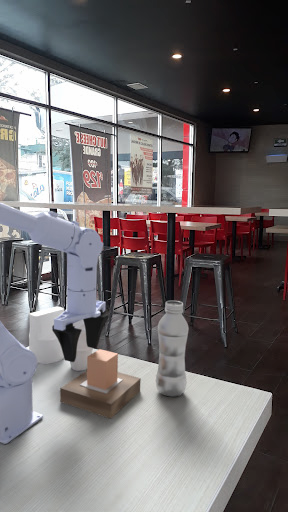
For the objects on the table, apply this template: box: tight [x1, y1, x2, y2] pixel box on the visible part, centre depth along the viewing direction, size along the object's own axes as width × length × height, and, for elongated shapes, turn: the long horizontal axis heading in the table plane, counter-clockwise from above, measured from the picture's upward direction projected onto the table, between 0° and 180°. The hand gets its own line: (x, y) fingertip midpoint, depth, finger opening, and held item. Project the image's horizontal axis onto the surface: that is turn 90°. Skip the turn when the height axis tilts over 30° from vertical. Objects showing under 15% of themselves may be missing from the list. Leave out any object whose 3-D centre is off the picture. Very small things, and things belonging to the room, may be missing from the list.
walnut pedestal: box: [59, 370, 142, 419], centre depth 83 cm, size 12×12×3 cm
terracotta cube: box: [86, 348, 119, 390], centre depth 82 cm, size 4×4×6 cm
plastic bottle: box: [155, 300, 189, 398], centre depth 84 cm, size 6×7×20 cm
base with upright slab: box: [28, 306, 65, 364], centre depth 101 cm, size 9×9×12 cm
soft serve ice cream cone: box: [69, 319, 94, 372], centre depth 95 cm, size 8×8×16 cm
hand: (81, 353), depth 80 cm, fingers open, 7 cm apart
